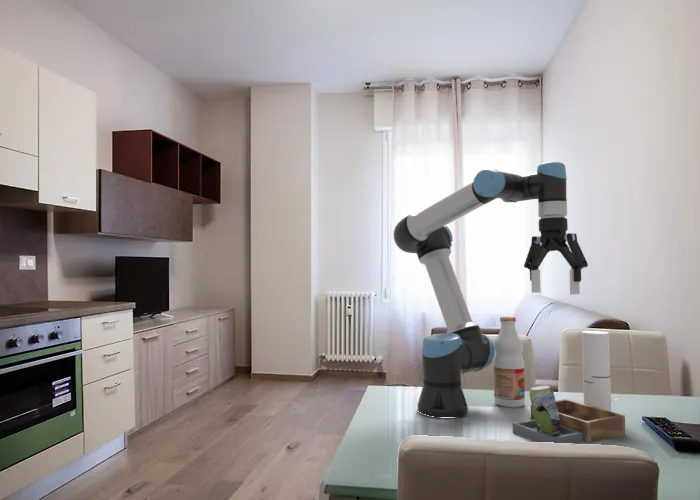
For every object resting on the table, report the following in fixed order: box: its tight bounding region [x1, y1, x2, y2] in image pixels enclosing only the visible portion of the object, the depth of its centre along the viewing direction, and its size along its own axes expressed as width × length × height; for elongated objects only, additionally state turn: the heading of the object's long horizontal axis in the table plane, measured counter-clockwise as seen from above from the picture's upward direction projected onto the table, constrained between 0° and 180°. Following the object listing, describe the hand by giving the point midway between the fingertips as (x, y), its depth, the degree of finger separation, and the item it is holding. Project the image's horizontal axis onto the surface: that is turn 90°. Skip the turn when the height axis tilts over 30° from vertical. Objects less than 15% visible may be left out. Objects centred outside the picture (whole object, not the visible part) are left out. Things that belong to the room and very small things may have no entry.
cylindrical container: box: [581, 330, 612, 412], centre depth 146 cm, size 7×7×25 cm
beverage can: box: [529, 385, 562, 435], centre depth 130 cm, size 6×7×12 cm
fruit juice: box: [493, 316, 526, 408], centre depth 163 cm, size 9×9×28 cm
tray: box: [512, 419, 584, 444], centre depth 130 cm, size 14×10×2 cm
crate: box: [530, 398, 626, 444], centre depth 137 cm, size 19×14×5 cm
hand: (554, 293), depth 140 cm, fingers open, 13 cm apart
